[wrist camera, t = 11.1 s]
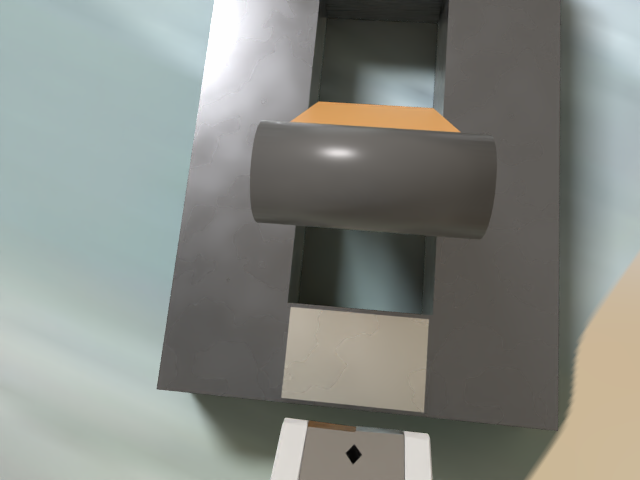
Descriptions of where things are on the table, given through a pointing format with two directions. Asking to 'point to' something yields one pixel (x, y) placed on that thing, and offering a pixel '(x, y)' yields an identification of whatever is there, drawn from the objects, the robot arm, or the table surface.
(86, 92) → the table surface
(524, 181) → the breaker box
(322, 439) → the robot arm
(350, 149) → the lever
